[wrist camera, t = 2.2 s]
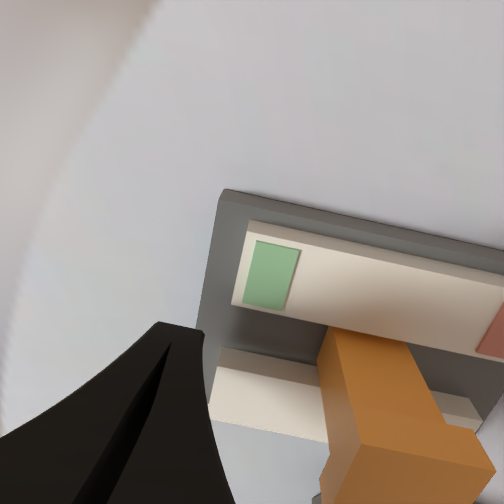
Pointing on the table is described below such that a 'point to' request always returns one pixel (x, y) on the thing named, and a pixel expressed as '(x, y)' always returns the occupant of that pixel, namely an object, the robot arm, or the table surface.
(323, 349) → the breaker handle
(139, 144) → the table surface
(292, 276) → the breaker base
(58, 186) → the table surface
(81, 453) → the robot arm
